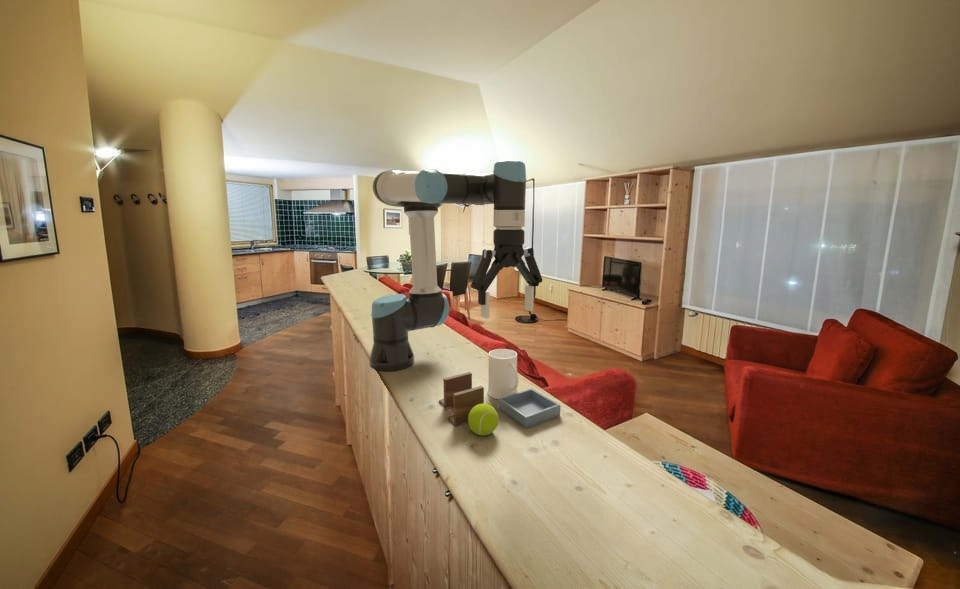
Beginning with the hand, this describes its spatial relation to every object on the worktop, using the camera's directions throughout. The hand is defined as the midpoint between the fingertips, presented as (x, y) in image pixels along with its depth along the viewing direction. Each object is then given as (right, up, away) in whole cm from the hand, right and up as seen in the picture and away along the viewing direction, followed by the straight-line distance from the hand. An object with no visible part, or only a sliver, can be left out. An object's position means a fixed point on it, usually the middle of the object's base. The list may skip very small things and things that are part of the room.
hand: (507, 313), depth 95 cm
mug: (0, -24, +12) cm, 27 cm away
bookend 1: (-14, -24, +8) cm, 29 cm away
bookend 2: (-11, -26, 0) cm, 28 cm away
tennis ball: (-6, -28, -7) cm, 29 cm away
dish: (+6, -26, +2) cm, 26 cm away
